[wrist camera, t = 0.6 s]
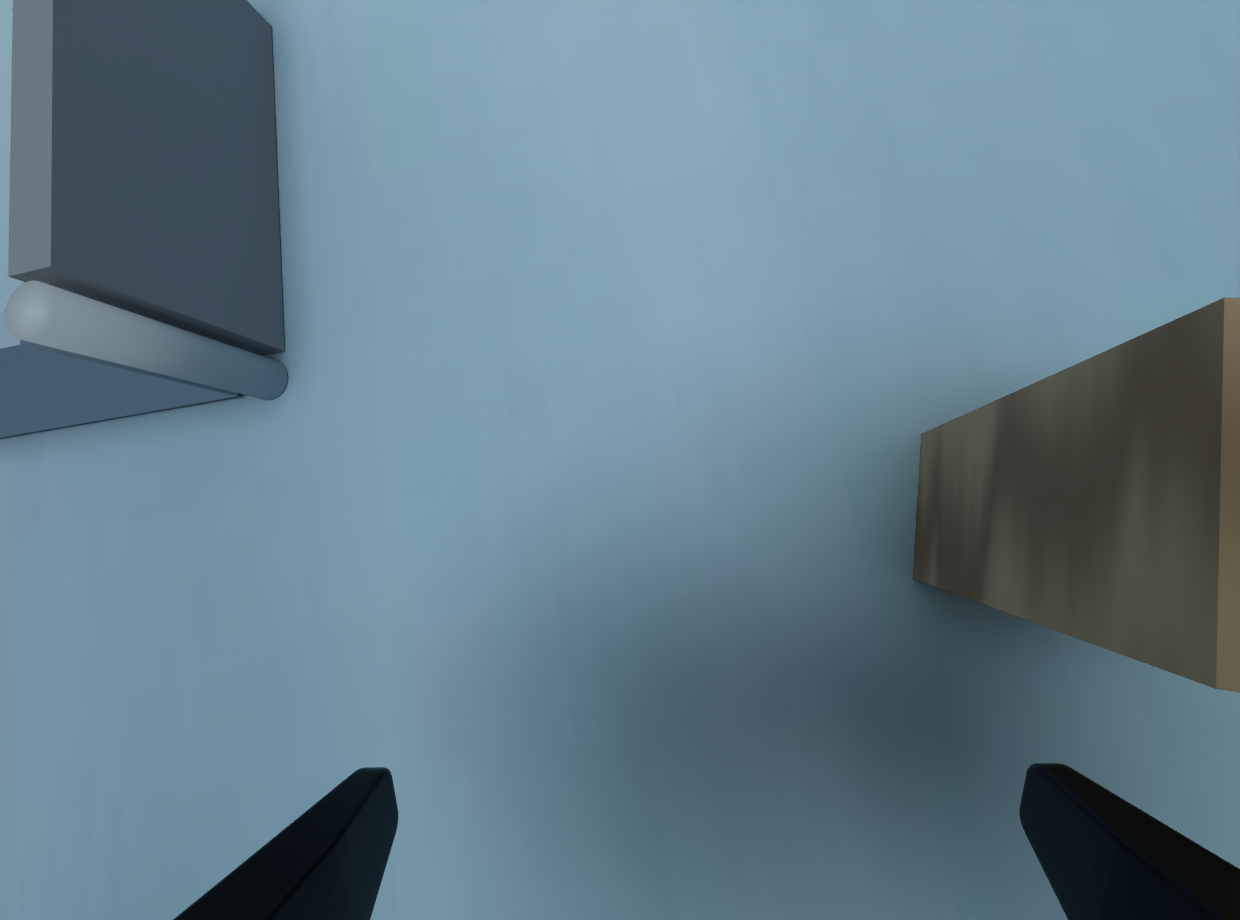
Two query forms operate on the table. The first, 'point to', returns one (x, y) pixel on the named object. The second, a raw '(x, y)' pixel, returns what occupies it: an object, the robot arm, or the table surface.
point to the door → (80, 388)
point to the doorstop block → (1104, 500)
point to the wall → (147, 188)
